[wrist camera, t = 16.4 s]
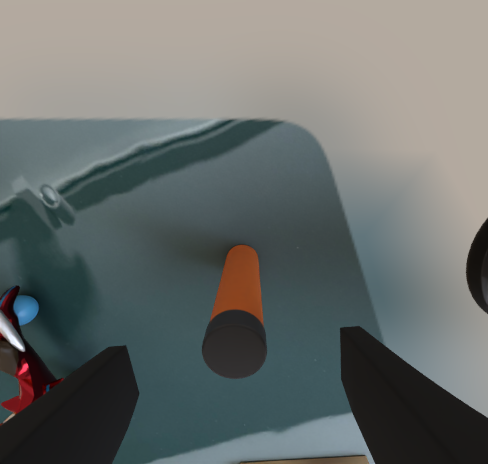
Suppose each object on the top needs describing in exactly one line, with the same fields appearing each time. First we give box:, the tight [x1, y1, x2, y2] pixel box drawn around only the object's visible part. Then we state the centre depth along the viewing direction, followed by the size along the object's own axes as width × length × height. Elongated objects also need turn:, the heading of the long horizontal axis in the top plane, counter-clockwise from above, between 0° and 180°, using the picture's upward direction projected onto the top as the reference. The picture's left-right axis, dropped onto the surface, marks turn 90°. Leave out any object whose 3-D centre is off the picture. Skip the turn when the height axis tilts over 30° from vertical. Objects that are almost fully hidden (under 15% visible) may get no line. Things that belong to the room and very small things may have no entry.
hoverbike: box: [0, 286, 64, 425], centre depth 17 cm, size 5×12×6 cm, turn 25°
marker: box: [202, 245, 267, 379], centre depth 13 cm, size 2×2×9 cm
